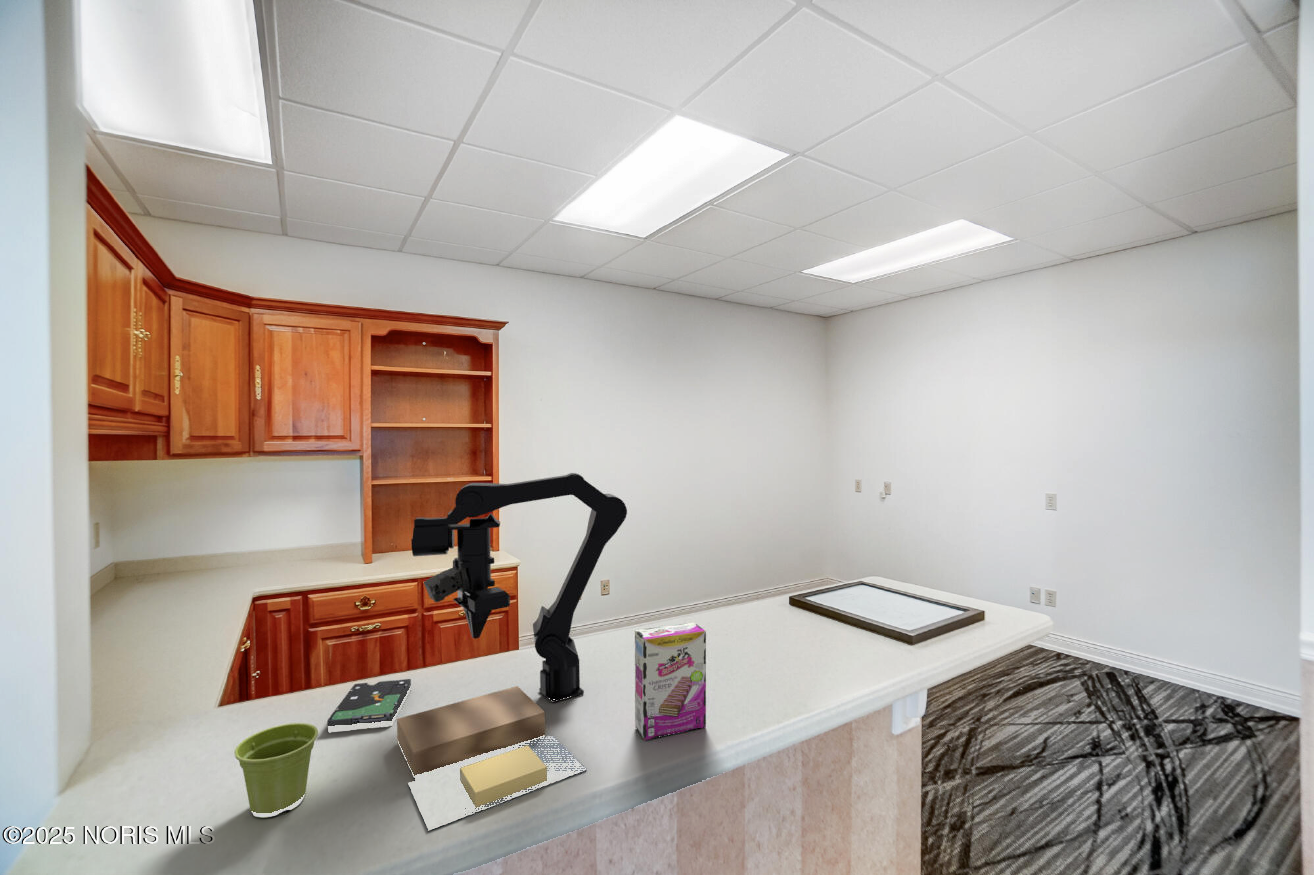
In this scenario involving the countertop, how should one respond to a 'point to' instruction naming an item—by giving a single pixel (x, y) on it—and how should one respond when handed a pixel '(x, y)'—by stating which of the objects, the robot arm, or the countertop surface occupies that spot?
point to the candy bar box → (670, 679)
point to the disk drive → (370, 703)
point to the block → (502, 775)
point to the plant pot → (276, 765)
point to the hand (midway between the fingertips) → (475, 637)
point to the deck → (469, 729)
